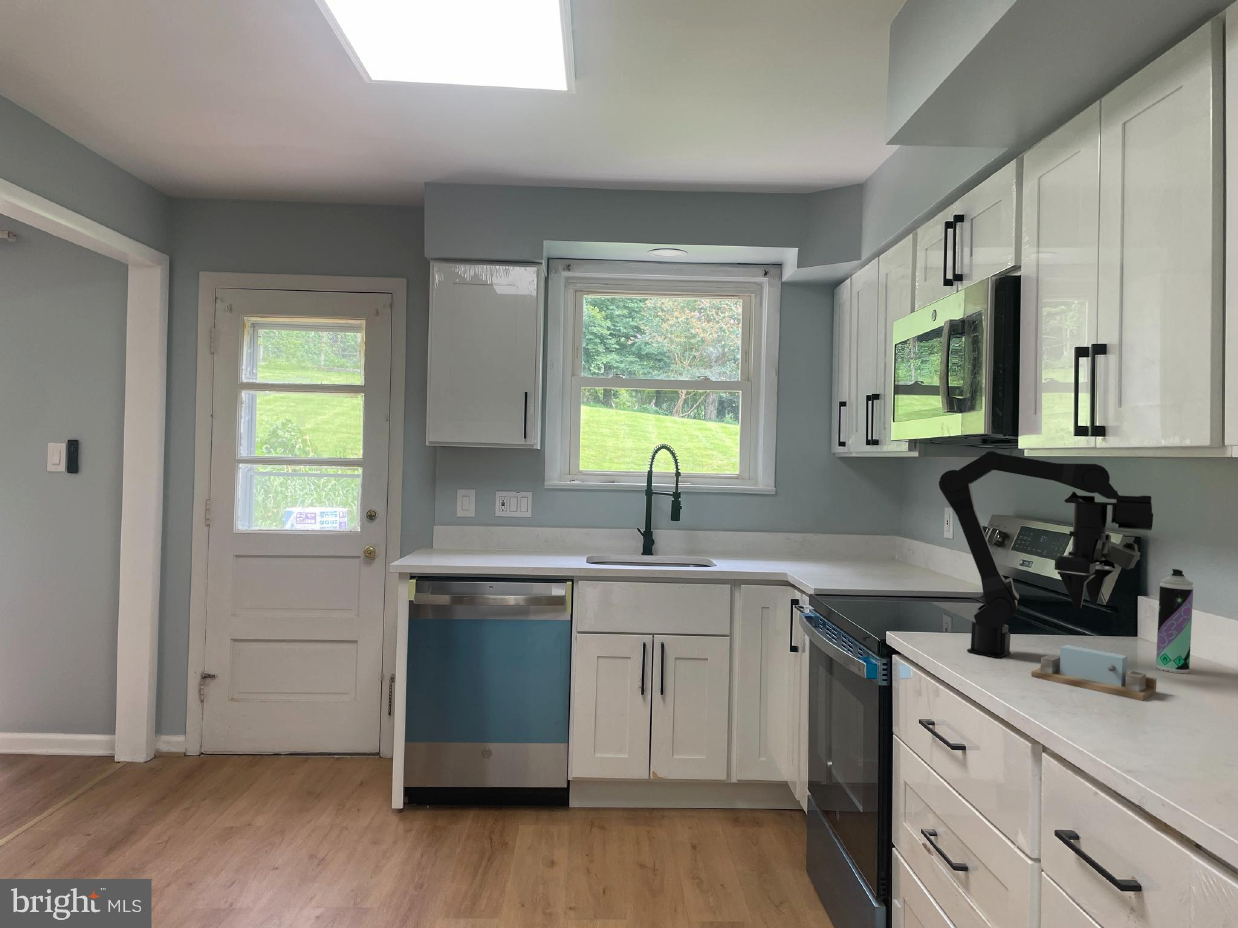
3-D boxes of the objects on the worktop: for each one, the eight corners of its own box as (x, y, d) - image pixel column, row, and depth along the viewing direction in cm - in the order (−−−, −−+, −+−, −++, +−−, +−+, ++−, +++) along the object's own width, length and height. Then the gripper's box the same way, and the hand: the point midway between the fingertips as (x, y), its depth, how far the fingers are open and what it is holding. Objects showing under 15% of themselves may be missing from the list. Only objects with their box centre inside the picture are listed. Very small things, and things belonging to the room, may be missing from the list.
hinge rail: (1031, 676, 152) (1032, 657, 152) (1047, 670, 157) (1048, 651, 157) (1142, 700, 139) (1143, 679, 139) (1155, 692, 144) (1156, 672, 144)
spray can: (1149, 666, 164) (1154, 567, 163) (1169, 665, 165) (1174, 567, 165) (1175, 674, 158) (1180, 571, 158) (1195, 672, 160) (1200, 571, 160)
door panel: (1058, 674, 150) (1059, 647, 150) (1065, 671, 153) (1066, 644, 153) (1119, 687, 143) (1121, 658, 143) (1126, 683, 146) (1127, 655, 145)
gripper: (1120, 532, 149) (1116, 617, 150) (1150, 529, 162) (1146, 607, 162) (1055, 527, 158) (1051, 607, 158) (1088, 524, 170) (1085, 599, 170)
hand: (1086, 605), depth 162 cm, fingers open, 9 cm apart
